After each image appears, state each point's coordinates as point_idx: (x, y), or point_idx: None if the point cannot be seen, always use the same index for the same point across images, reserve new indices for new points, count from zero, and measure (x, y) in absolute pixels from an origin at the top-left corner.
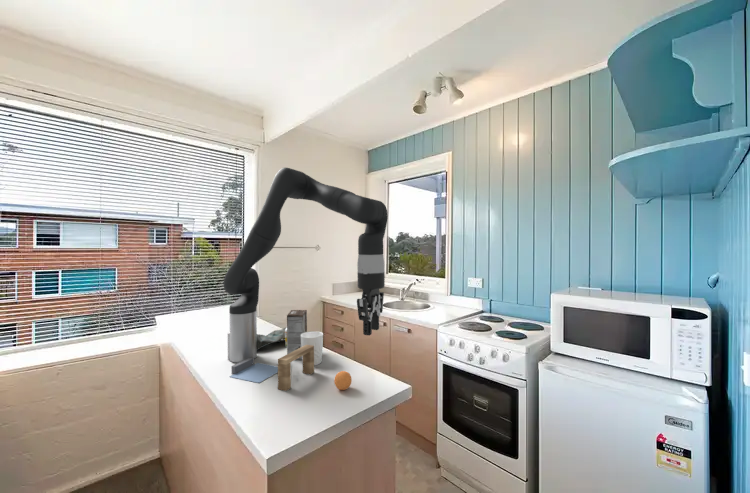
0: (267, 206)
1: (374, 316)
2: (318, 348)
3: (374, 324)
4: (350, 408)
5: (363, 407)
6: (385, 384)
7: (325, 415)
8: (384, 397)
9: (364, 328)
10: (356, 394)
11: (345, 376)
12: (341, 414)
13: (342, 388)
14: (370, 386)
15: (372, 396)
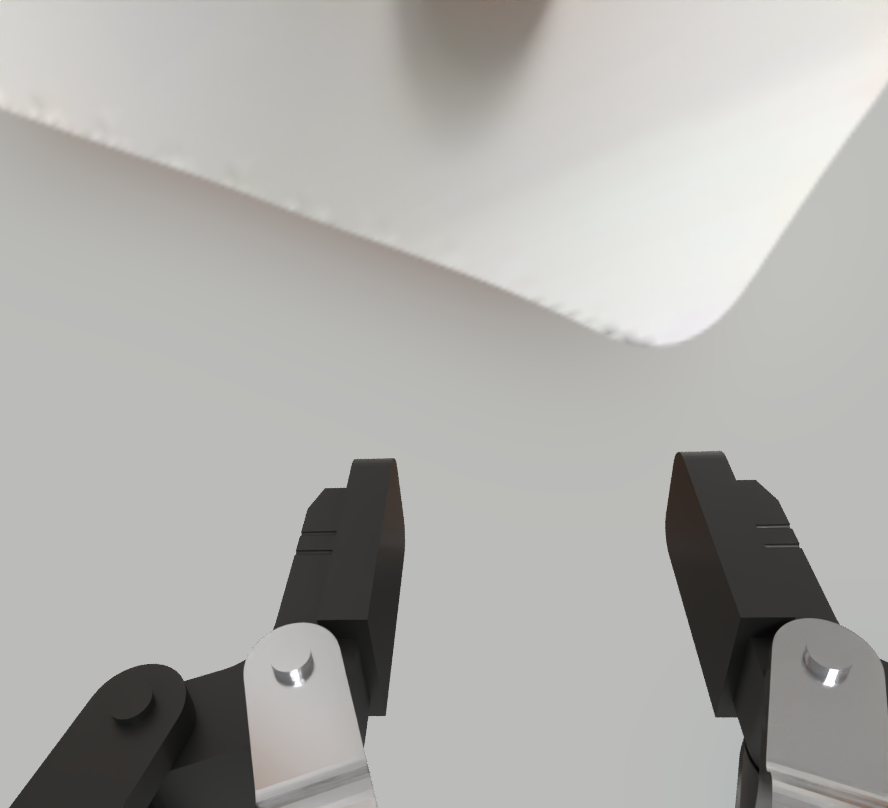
0: None
1: (747, 668)
2: None
3: (692, 549)
4: (269, 129)
5: (326, 204)
6: (698, 207)
7: (95, 8)
8: (503, 274)
9: (302, 558)
10: (462, 66)
11: None
12: (176, 111)
13: None
14: (630, 109)
15: (484, 196)
